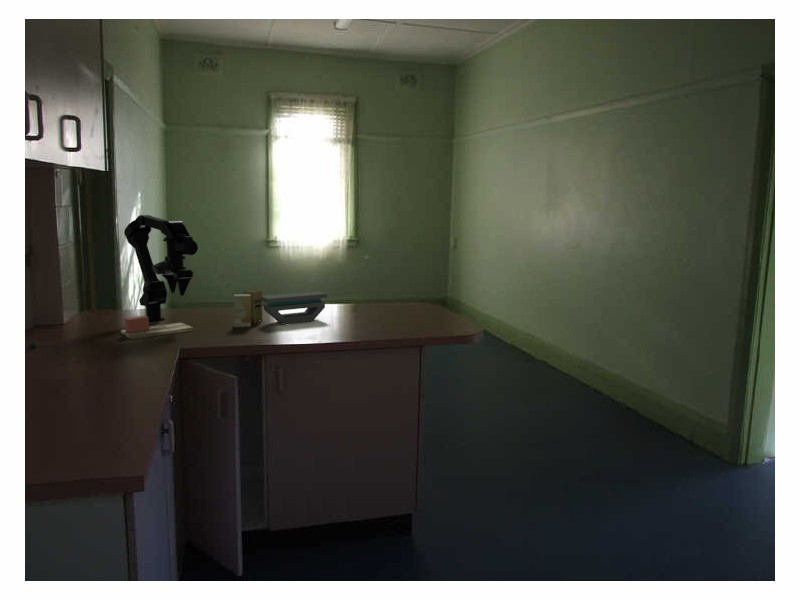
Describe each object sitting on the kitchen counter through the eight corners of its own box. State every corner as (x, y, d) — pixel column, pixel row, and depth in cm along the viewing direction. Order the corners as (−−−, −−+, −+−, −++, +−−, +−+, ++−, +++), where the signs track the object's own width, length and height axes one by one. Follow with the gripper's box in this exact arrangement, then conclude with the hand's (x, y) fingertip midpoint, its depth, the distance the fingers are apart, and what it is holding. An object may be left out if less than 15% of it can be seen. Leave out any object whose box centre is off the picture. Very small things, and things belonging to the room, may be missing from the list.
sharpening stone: (268, 326, 234) (267, 298, 232) (261, 323, 241) (260, 296, 239) (327, 320, 247) (327, 293, 245) (319, 317, 254) (319, 291, 252)
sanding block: (125, 331, 218) (124, 318, 217) (145, 329, 223) (144, 315, 222) (129, 333, 215) (128, 319, 214) (149, 330, 220) (148, 317, 219)
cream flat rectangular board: (120, 333, 221) (120, 330, 221) (181, 325, 235) (180, 322, 235) (131, 339, 212) (131, 335, 212) (193, 330, 226) (193, 327, 226)
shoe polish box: (244, 321, 244) (243, 291, 242) (252, 319, 248) (251, 290, 246) (254, 322, 242) (253, 292, 240) (262, 320, 246) (261, 290, 244)
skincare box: (234, 327, 232) (233, 296, 230) (234, 325, 236) (233, 294, 234) (251, 326, 234) (250, 295, 232) (251, 324, 238) (250, 293, 236)
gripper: (145, 253, 234) (147, 293, 236) (162, 256, 220) (165, 299, 222) (174, 251, 241) (176, 290, 244) (192, 255, 227) (194, 296, 230)
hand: (177, 294), depth 235 cm, fingers open, 9 cm apart
